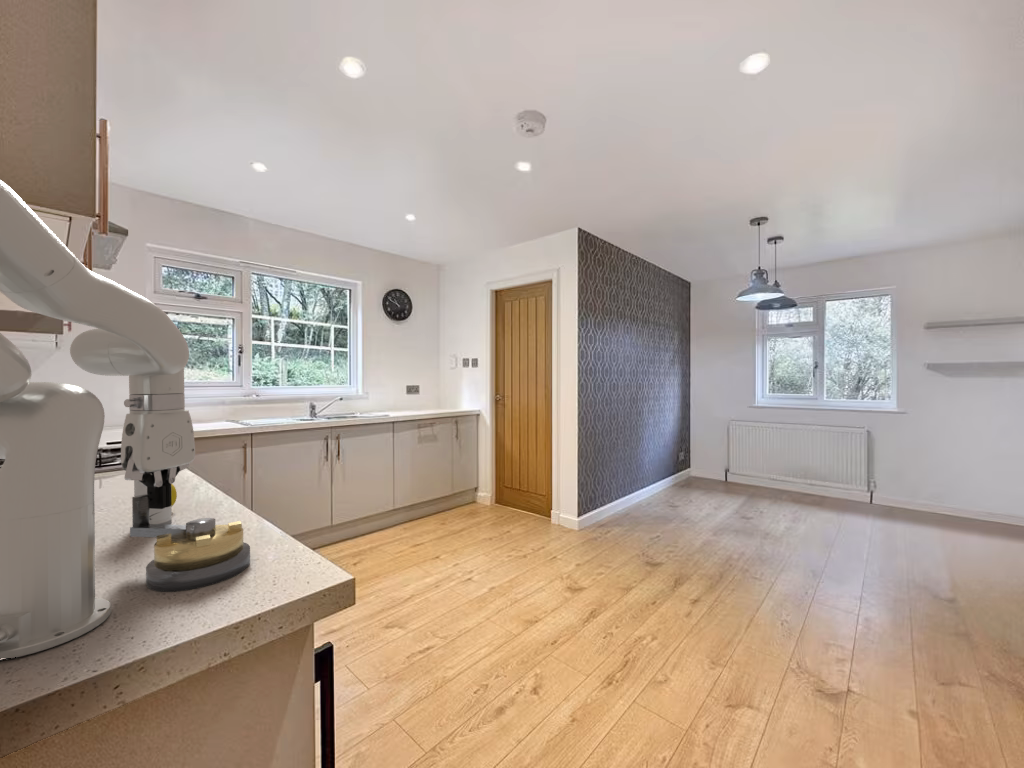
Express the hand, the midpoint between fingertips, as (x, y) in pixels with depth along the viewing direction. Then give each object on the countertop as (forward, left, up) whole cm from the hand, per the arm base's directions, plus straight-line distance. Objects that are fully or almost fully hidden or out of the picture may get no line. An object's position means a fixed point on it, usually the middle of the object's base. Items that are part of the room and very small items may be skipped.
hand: (159, 507), depth 76 cm
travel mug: (+18, +16, -10) cm, 26 cm away
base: (-5, -10, -10) cm, 15 cm away
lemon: (+28, +22, -10) cm, 37 cm away
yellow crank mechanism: (-4, -7, -7) cm, 11 cm away
